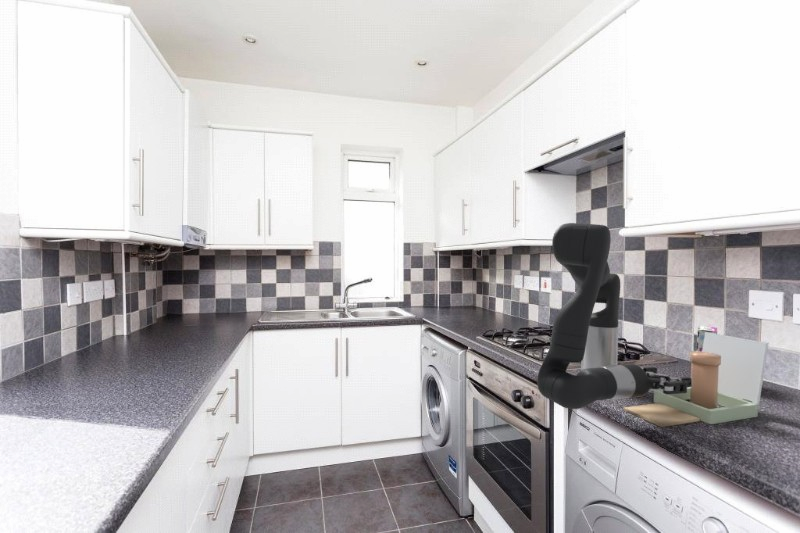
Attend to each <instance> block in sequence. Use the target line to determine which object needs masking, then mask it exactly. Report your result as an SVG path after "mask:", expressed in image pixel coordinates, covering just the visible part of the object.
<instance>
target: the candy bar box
mask: <svg viewBox="0 0 800 533" xmlns="http://www.w3.org/2000/svg"><path fill="white" fill-rule="evenodd" d="M705 332H709V333H715V334H718V328H717V327H715V326H714V327H713V326H706V325H698V327H697V332H696V333H697V335H696V337H697V338H696V351H702V349H703V343H704V337H705Z"/></svg>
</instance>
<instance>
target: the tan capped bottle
mask: <svg viewBox="0 0 800 533" xmlns="http://www.w3.org/2000/svg"><path fill="white" fill-rule="evenodd" d="M689 361H690V362H691V368H690V371H691V372H690V378H691V379H692V386H691V391H690V399H689V402H691V403H693V404H696V405H699V406H702V407H704V408H707V409H715V408H718V404H717V403H718V375H719V365H721V355H718V354H714V353H709V352H702V351H697V350H692V351H691V350H690V351H689Z"/></svg>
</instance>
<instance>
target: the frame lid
mask: <svg viewBox="0 0 800 533" xmlns="http://www.w3.org/2000/svg"><path fill="white" fill-rule="evenodd" d="M768 349H769V343H768V342H766V341H759V340H753V339H747V338H742V337H735V336H730V335H725V334H720V333H719V334H718V333H717V334H715V333H709V332H705V337H704V343H703V349H702V352H709V353H714V354H718V355H721V365H719V375H718V392H719V393H723V394H726V395H729V396H732V397H735V398H739V399H742V400H744V401H747V402H751V403H755V404H758V405H760V401H761V394H762V388H763V381H764V374H765V369H766V364H767V355H768Z"/></svg>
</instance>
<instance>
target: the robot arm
mask: <svg viewBox="0 0 800 533" xmlns="http://www.w3.org/2000/svg"><path fill="white" fill-rule="evenodd" d="M611 238H612V237H611V231H610V229H609V227H608V226H606V225H604V224H597V223H596V224H595V223H594V224H593V223H582V222H581V223H579V222H567V223H563V224H561V225H559V226H558V227H557V228H556V230H555V231H554V234H553V236H552V240H551V242H552V243H551V244H552V252H553V253H552V254H553V255H554V258H555V259H556V261H557V262H558V263H559V265H561V266H562V267H563V268H565V269H566V270H567V271H568V272H569V274H570V276H571V278H572V279H573V281H574V282H575V283H576V285H577V287H578V289H577V290H576V291H575V293H574V294H573V295H572V296H571V297H570V298H569V299H568V300H567V301H566V303H565V304H563V306H562V307H561V308H560V309H559V311H558V312H557V314H556V316H555V318H554V320H553V321H554V322H553V326H552V330H551V331H552V332H551V336H550V337H551V338H550V342H549V343H550V344H549V349H548V351H547V353H546V355H545V357H544V359H543V361H542V364H541V366H540V368H539V370H538V374H537V376H536V378H537V379H536V383H537V384H536V385H537V388H538V391H539V393H540V394H541V395H542V396H543V397H544V398H546V399H548V400H550V401H551V402H553V403H554V404H556V405H559V406H561V407H562V408H565V409H567V410H568V409H569V410H578V409H582V408H584V407H587V406H588V405H590V404H592V403H595V402H596V401H597V402H598V401H606V400H624V399H633V398H639V397H640V398H641V397H644V396H645V395H646V394H647V393H648V392H649V391H657V390H663V393H664V394H667V395H668V394H680V393H687V387H691V386H692V379H691V377H689V376H683V377H682V376H681V377H671V376H669V375H667V374H665V373H664V374H663V373H658V368H657V367H655V366H649V367H643V366H640V365H637V364H635V363H622V364H618V352H619V348H618V347H619V344H618V343H619V306H620V296H621V279H620V276H619V275H618V274H616V273H611V269H610V265H609V263H608V258H609V254H610V249H611V240H612V239H611ZM596 303H597V304H606V307H605V308H603V309H602V310H598V311H596V312H593V311H594V308H595V306H596ZM570 363H572V364H573V363H574V364H577V363H580V370H579V371H578V372H577V373H576V375H574V374H572V373H569V372H567V369H568V367H569V365H570ZM661 378H663V379H664V381H663V382H662V379H661Z"/></svg>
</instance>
